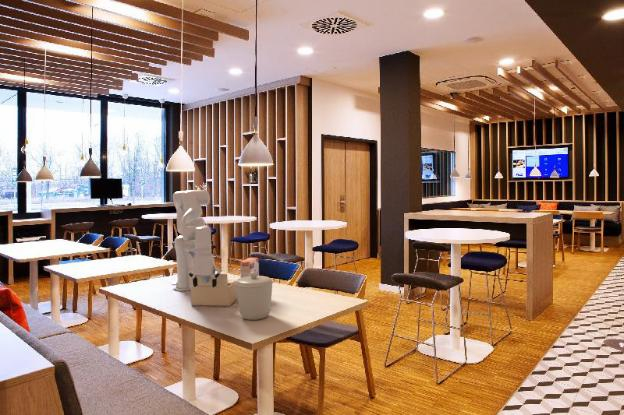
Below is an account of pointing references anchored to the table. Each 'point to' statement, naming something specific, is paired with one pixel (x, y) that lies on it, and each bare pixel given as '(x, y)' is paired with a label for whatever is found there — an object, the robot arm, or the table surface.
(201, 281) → the near flap
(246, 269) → the cracker box
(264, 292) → the canister
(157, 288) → the table surface
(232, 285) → the carton
